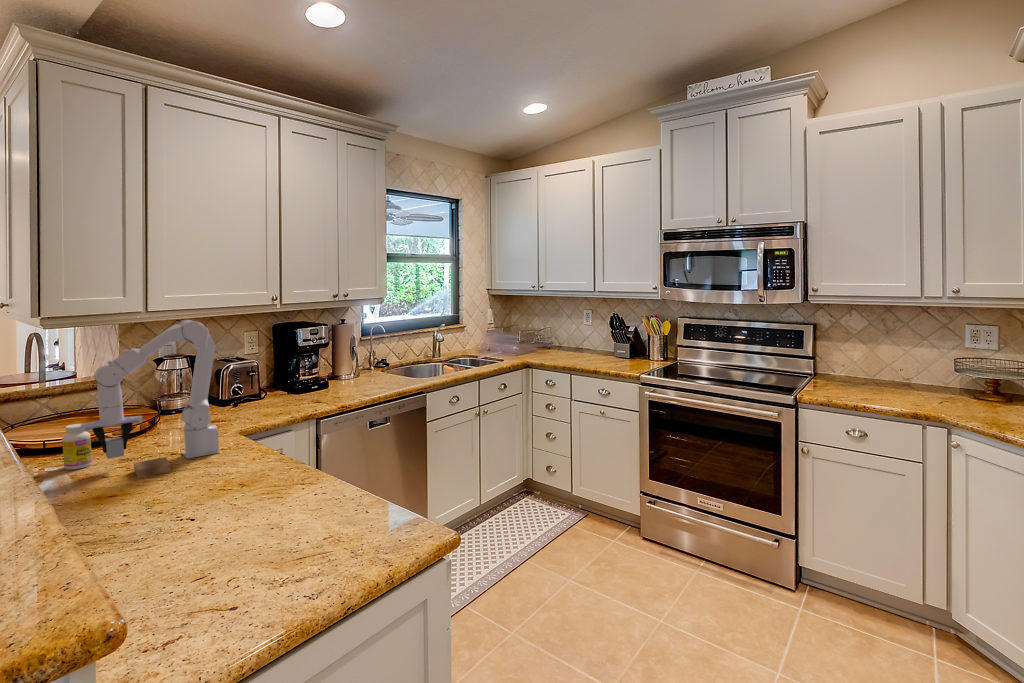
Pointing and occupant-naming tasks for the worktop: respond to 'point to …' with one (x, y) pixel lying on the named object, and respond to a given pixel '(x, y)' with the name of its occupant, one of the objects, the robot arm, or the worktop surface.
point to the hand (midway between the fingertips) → (114, 450)
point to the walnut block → (152, 467)
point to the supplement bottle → (76, 448)
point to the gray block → (114, 447)
